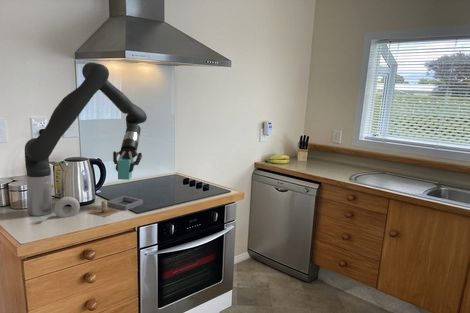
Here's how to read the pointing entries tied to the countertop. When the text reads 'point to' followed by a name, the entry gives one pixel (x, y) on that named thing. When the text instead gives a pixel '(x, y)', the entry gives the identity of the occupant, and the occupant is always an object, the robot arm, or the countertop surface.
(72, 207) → the donut
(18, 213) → the countertop surface
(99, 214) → the stake stand
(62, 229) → the countertop surface
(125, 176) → the sleeve
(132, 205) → the grey square ring
